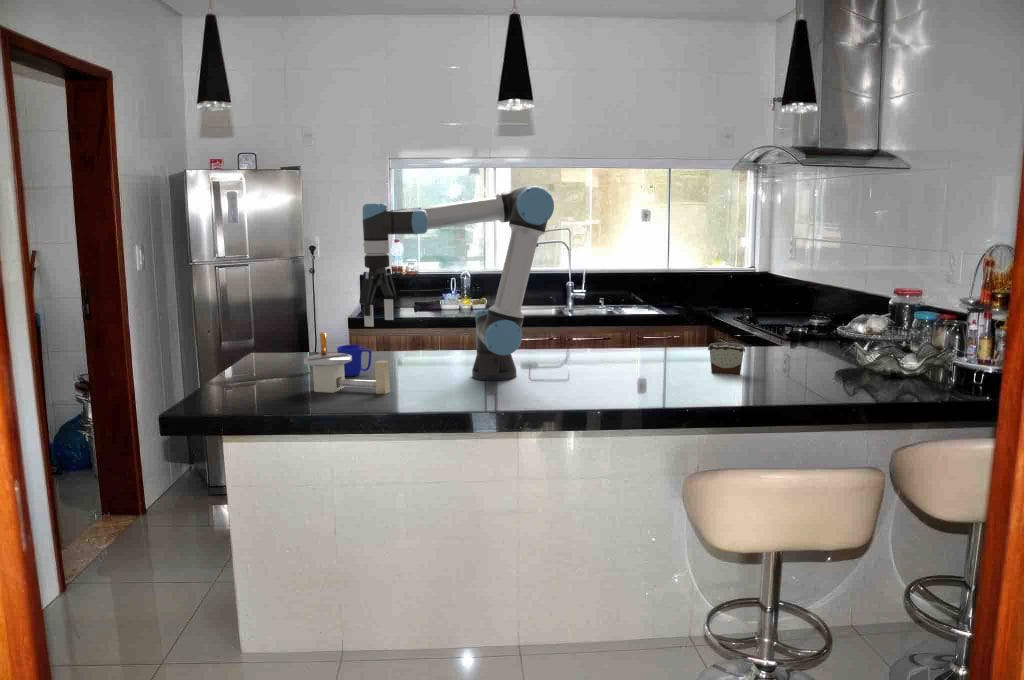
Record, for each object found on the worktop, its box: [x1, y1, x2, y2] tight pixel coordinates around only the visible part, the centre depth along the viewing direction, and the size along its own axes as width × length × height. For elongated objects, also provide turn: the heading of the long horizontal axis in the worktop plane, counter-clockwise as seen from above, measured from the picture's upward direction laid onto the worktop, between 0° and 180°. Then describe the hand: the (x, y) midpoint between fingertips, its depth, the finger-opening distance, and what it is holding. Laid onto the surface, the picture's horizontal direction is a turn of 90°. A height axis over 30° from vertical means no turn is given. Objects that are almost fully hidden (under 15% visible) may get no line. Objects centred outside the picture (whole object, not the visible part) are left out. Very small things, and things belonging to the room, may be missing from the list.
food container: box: [707, 342, 746, 377], centre depth 264 cm, size 12×6×10 cm, turn 65°
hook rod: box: [336, 360, 391, 395], centre depth 250 cm, size 25×3×10 cm, turn 73°
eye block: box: [312, 364, 346, 394], centre depth 252 cm, size 7×7×9 cm
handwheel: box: [303, 332, 352, 367], centre depth 250 cm, size 15×15×8 cm
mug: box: [336, 344, 372, 377], centre depth 272 cm, size 8×12×10 cm
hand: (379, 323), depth 243 cm, fingers open, 13 cm apart
